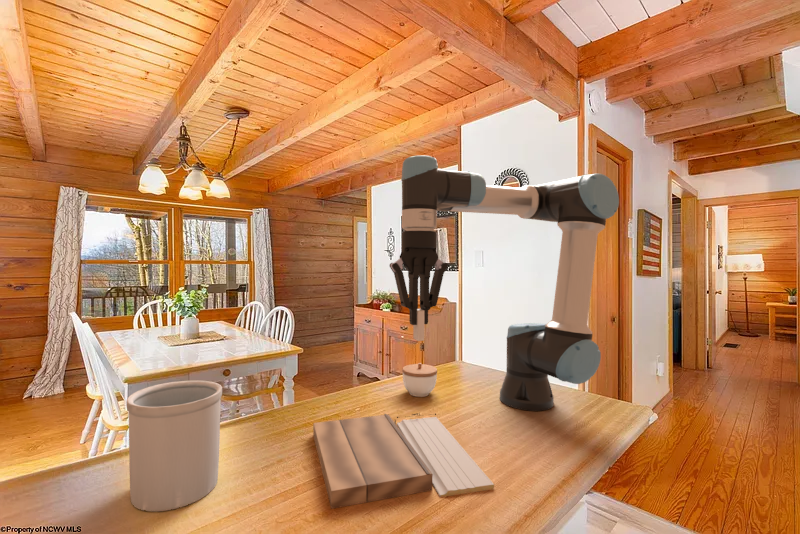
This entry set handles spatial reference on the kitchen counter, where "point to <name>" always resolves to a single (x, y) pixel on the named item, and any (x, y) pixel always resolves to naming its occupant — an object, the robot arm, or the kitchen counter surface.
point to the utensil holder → (173, 443)
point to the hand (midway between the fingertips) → (418, 339)
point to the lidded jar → (419, 379)
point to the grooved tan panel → (368, 461)
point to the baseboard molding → (444, 457)
